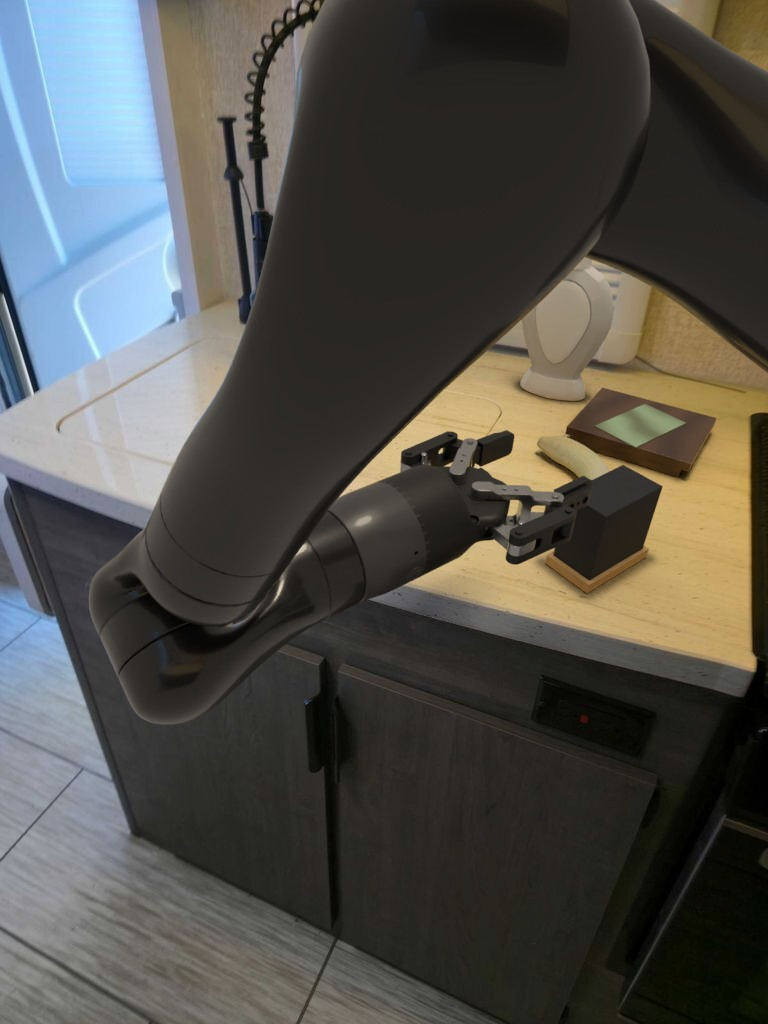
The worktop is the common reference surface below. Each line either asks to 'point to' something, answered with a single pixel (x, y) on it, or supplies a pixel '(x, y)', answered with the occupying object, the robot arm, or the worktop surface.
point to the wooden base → (641, 431)
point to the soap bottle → (567, 333)
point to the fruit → (573, 456)
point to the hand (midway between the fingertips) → (546, 463)
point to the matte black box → (608, 529)
